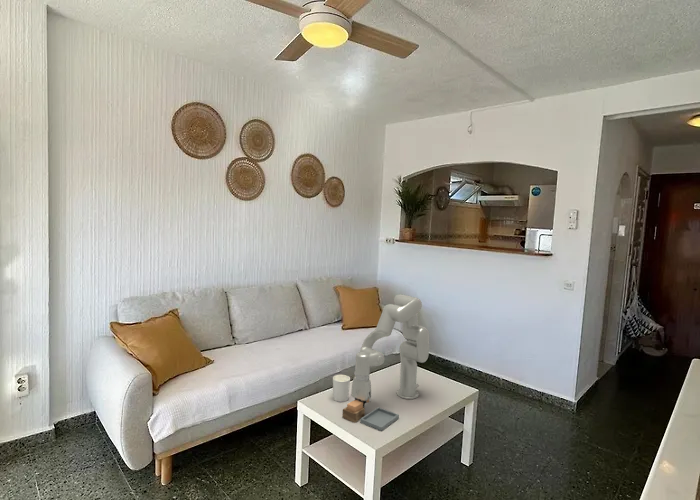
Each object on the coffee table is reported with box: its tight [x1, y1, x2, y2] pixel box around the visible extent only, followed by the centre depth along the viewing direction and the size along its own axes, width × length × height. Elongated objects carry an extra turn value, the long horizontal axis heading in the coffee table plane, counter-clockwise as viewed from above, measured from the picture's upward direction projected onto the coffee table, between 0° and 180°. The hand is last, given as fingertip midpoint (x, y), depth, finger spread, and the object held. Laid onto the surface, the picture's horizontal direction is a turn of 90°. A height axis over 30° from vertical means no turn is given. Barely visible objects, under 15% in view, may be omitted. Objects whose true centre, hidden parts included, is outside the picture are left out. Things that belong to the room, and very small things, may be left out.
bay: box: [342, 406, 366, 424], centre depth 200 cm, size 8×8×4 cm
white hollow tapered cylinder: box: [332, 374, 351, 403], centre depth 220 cm, size 10×10×12 cm
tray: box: [359, 406, 400, 432], centre depth 197 cm, size 17×13×2 cm
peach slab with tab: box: [346, 399, 363, 413], centre depth 202 cm, size 11×5×7 cm, turn 143°
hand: (360, 410), depth 205 cm, fingers closed on peach slab with tab, 1 cm apart
